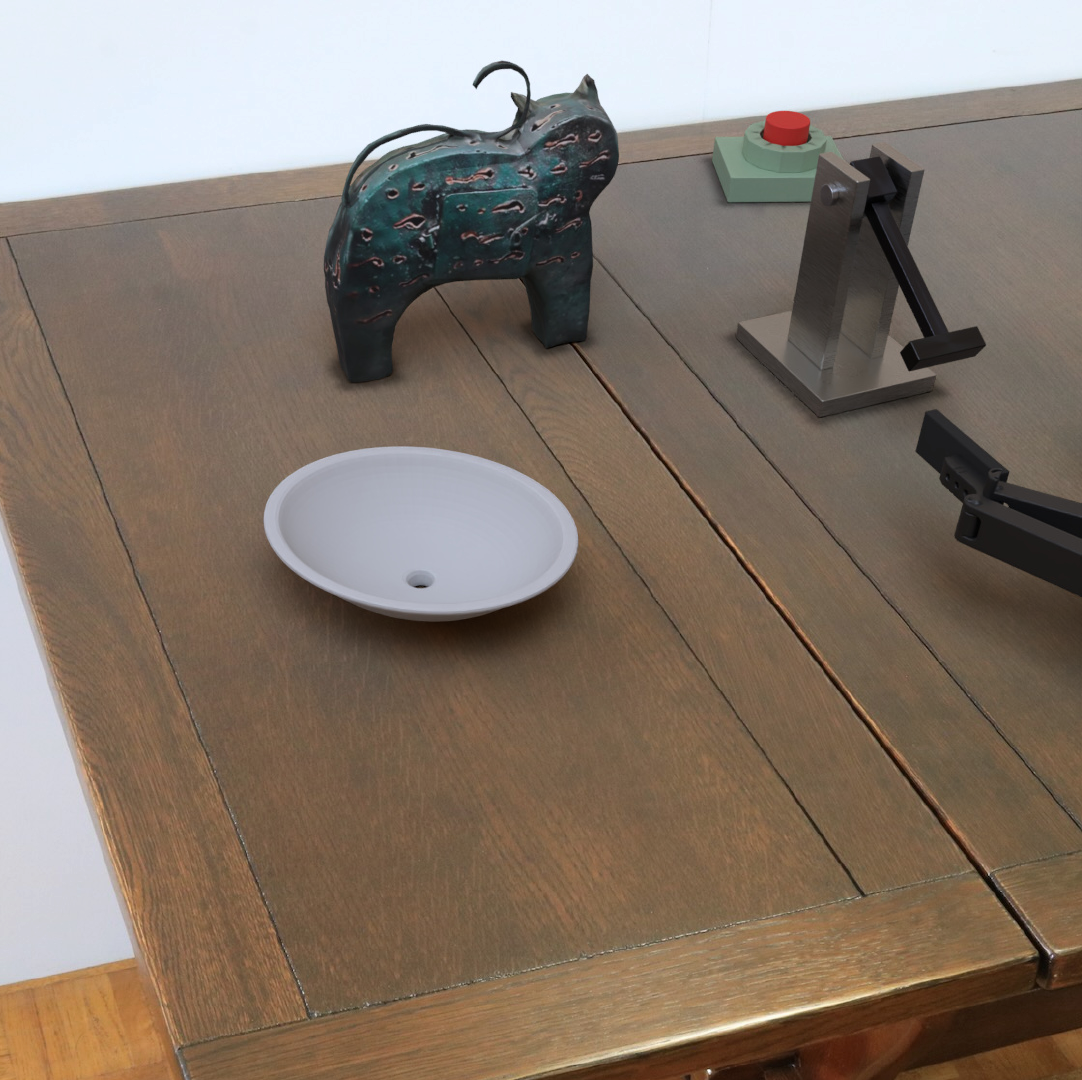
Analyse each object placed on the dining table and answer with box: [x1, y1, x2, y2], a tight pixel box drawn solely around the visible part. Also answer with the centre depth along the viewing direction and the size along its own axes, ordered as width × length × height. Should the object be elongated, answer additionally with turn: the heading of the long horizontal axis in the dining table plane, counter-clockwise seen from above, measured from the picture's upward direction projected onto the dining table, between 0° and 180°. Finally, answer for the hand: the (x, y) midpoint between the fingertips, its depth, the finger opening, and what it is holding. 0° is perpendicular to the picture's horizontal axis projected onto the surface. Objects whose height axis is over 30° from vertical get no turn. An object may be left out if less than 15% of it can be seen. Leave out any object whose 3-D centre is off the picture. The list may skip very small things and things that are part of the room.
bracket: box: [735, 141, 937, 418], centre depth 101 cm, size 11×9×15 cm
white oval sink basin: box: [263, 445, 579, 622], centre depth 85 cm, size 18×14×5 cm
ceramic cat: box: [323, 60, 620, 383], centre depth 100 cm, size 20×6×20 cm, turn 110°
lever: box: [849, 156, 987, 372], centre depth 95 cm, size 14×5×2 cm
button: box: [763, 110, 811, 146], centre depth 125 cm, size 4×4×2 cm
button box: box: [711, 119, 845, 203], centre depth 126 cm, size 10×8×4 cm
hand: (1023, 406), depth 88 cm, fingers open, 13 cm apart
